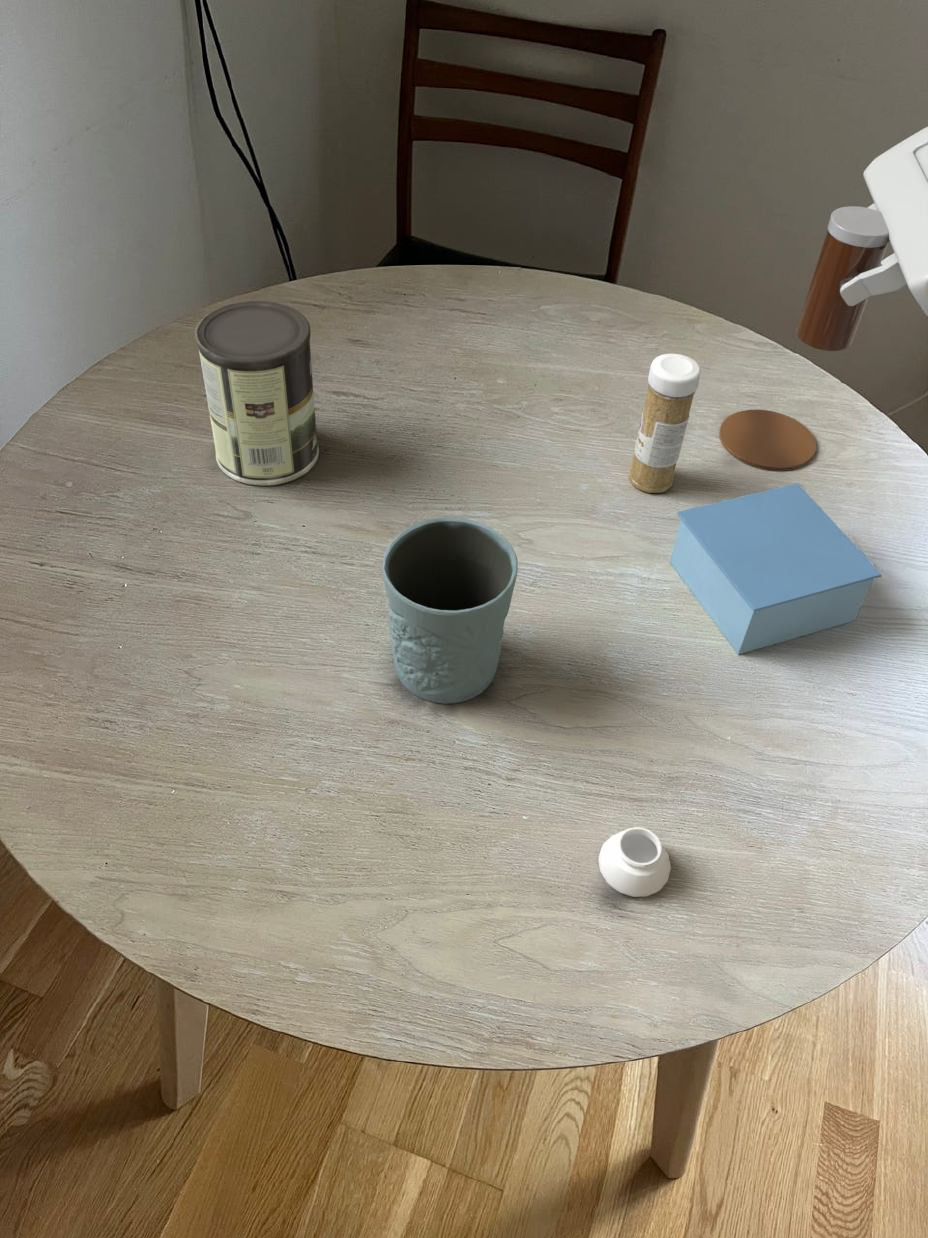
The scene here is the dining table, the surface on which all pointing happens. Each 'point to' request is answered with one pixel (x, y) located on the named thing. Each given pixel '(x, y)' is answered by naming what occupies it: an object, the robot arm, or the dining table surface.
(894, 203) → the robot arm
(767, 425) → the brown coaster
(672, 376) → the sprinkles bottle
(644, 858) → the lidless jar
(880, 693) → the dining table surface
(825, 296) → the cylinder
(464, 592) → the embossed green cup
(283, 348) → the coffee can
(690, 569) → the storage box
